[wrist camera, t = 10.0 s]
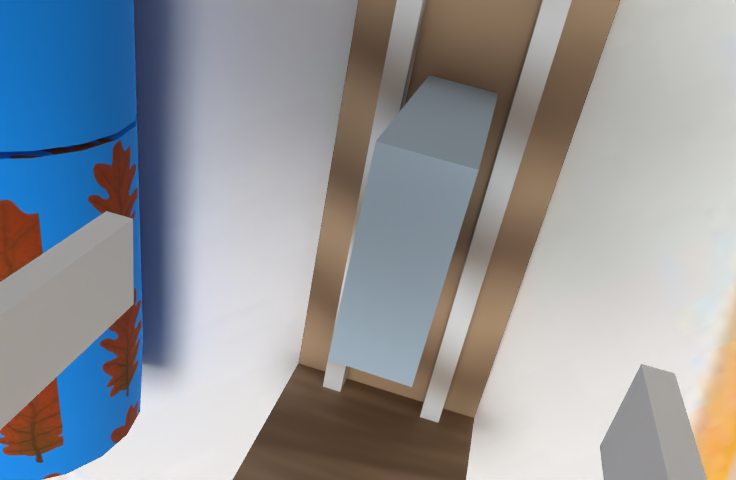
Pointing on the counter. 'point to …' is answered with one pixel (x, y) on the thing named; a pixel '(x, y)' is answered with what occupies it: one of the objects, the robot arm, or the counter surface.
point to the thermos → (70, 208)
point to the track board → (474, 244)
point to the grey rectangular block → (410, 227)
